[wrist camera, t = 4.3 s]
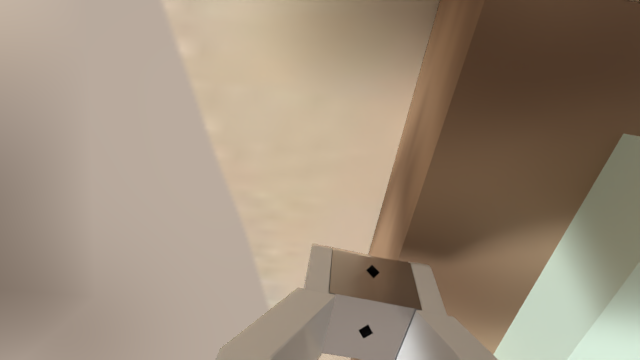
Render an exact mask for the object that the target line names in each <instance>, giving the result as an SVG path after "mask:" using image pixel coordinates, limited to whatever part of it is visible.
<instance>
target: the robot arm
mask: <svg viewBox="0 0 640 360" xmlns="http://www.w3.org/2000/svg"><path fill="white" fill-rule="evenodd" d="M321 353H325V354H331V355H337V356H344V357H350V358H356V359H361V360H498V359H497V358H496V357H495V356H494V355H493V354H492V353H491V352H490V351H489V350H488V349H487V348H486V347H485V346H483V345H482V344H481V343H480V342H479V341H478V340H477V339H476V338H475V337H474V336H473V335H472V334H471V333H470V332H469V331H468V330H467V329H466V328H465V327H464V326H463V325H462V324H461V323H460V322H458V321H457V320H456V319H455V318H454V317H452V316H447V313H446V310H445V307H444V304H443V301H442V298H441V296H440V293H439V290H438V287H437V284H436V281H435V278H434V275H433V272H432V269H431V267H430V266H429V265H426V264H420V263H413V262H403V261H398V260H392V259H387V258H381V257H376V256H371V255H367V254H362V253H357V252H353V251H348V250H343V249H338V248H333V247H332V248H331V247H328V246H323V245H318V244H312V247H311V252H310V257H309V263H308V268H307V273H306V279H305V284H304V289H302V288H297V289H296V290H294V291H293V292H292V293H291V294H289V295H288V296H287V297H285V298H284V299H283V300H282V301H280V302H279V303H278V304H277V305H275V306H274V307H273V308H271V309H270V310H269V311H268V312H266V313H265V314H264V315H263V316H261V317H260V318H259V319H257V320H256V321H255V322H254V323H252V324H251V325H250V326H248V327H247V328H246V329H245V330H244V331H242V332H241V333H240V334H238V335H237V336H236V337H234V338H233V339H232V340H231V341H229V342H228V343H227V344H226V345H224V346H223V347H222V348H220V350H219V353H218V355H217V358H216V360H318V359H319V357H320V356H321Z"/></svg>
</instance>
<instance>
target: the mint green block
mask: <svg viewBox="0 0 640 360" xmlns="http://www.w3.org/2000/svg"><path fill="white" fill-rule="evenodd" d="M493 355H494V356H495V357H496V358H497V359H498V360H640V136H634V135H629V134H623V135H622V137H621V138H620V140H619V142H618V144H617V145H616V147H615V149H614V150H613V152H612V154H611V155H610V157H609V159H608V161H607V162H606V164H605V166H604V167H603V169H602V171H601V172H600V174H599V176H598V178H597V179H596V181H595V183H594V184H593V186H592V188H591V189H590V191H589V193H588V194H587V196H586V198H585V200H584V201H583V203H582V205H581V206H580V208H579V210H578V211H577V213H576V215H575V217H574V218H573V220H572V222H571V223H570V225H569V227H568V228H567V230H566V232H565V234H564V235H563V237H562V239H561V240H560V242H559V244H558V245H557V247H556V249H555V251H554V252H553V254H552V256H551V257H550V259H549V261H548V262H547V264H546V266H545V267H544V269H543V271H542V273H541V274H540V276H539V278H538V279H537V281H536V283H535V284H534V286H533V288H532V290H531V291H530V293H529V295H528V296H527V298H526V300H525V301H524V303H523V305H522V307H521V308H520V310H519V312H518V313H517V315H516V317H515V318H514V320H513V322H512V324H511V325H510V327H509V329H508V330H507V332H506V334H505V335H504V337H503V339H502V341H501V342H500V344H499V346H498V347H497V349H496V351H495V352H494V354H493Z"/></svg>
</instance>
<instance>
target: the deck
mask: <svg viewBox="0 0 640 360" xmlns="http://www.w3.org/2000/svg"><path fill="white" fill-rule="evenodd" d="M623 134H629V135H634V136H640V2H634V1H628V0H440V2H439V6H438V10H437V13H436V17H435V20H434V24H433V27H432V31H431V34H430V38H429V42H428V45H427V49H426V52H425V56H424V59H423V63H422V66H421V70H420V73H419V77H418V81H417V84H416V88H415V91H414V95H413V98H412V102H411V105H410V109H409V113H408V116H407V120H406V123H405V127H404V130H403V134H402V137H401V141H400V144H399V148H398V152H397V155H396V159H395V162H394V166H393V169H392V173H391V176H390V180H389V183H388V187H387V191H386V194H385V198H384V201H383V205H382V208H381V212H380V215H379V219H378V223H377V226H376V230H375V233H374V237H373V240H372V244H371V247H370V251H369V254H368V255H371V256H376V257H381V258H387V259H392V260H398V261H403V262H413V263H420V264H426V265H429V266H430V267H431V269H432V272H433V275H434V278H435V281H436V284H437V287H438V290H439V293H440V296H441V298H442V301H443V304H444V307H445V310H446V313H447V316H452V317H454V318H455V319H456V320H457V321H458V322H460V323H461V324H462V325H463V326H464V327H465V328H466V329H467V330H468V331H469V332H470V333H471V334H472V335H473V336H474V337H475V338H476V339H477V340H478V341H479V342H480V343H481V344H482V345H483V346H485V347H486V348H487V349H488V350H489V351H490V352H491V353H492V354H494V352H495V351H496V349H497V347H498V346H499V344H500V342H501V341H502V339H503V337H504V335H505V334H506V332H507V330H508V329H509V327H510V325H511V324H512V322H513V320H514V318H515V317H516V315H517V313H518V312H519V310H520V308H521V307H522V305H523V303H524V301H525V300H526V298H527V296H528V295H529V293H530V291H531V290H532V288H533V286H534V284H535V283H536V281H537V279H538V278H539V276H540V274H541V273H542V271H543V269H544V267H545V266H546V264H547V262H548V261H549V259H550V257H551V256H552V254H553V252H554V251H555V249H556V247H557V245H558V244H559V242H560V240H561V239H562V237H563V235H564V234H565V232H566V230H567V228H568V227H569V225H570V223H571V222H572V220H573V218H574V217H575V215H576V213H577V211H578V210H579V208H580V206H581V205H582V203H583V201H584V200H585V198H586V196H587V194H588V193H589V191H590V189H591V188H592V186H593V184H594V183H595V181H596V179H597V178H598V176H599V174H600V172H601V171H602V169H603V167H604V166H605V164H606V162H607V161H608V159H609V157H610V155H611V154H612V152H613V150H614V149H615V147H616V145H617V144H618V142H619V140H620V138H621V137H622V135H623ZM351 360H361V359H356V358H351Z"/></svg>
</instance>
